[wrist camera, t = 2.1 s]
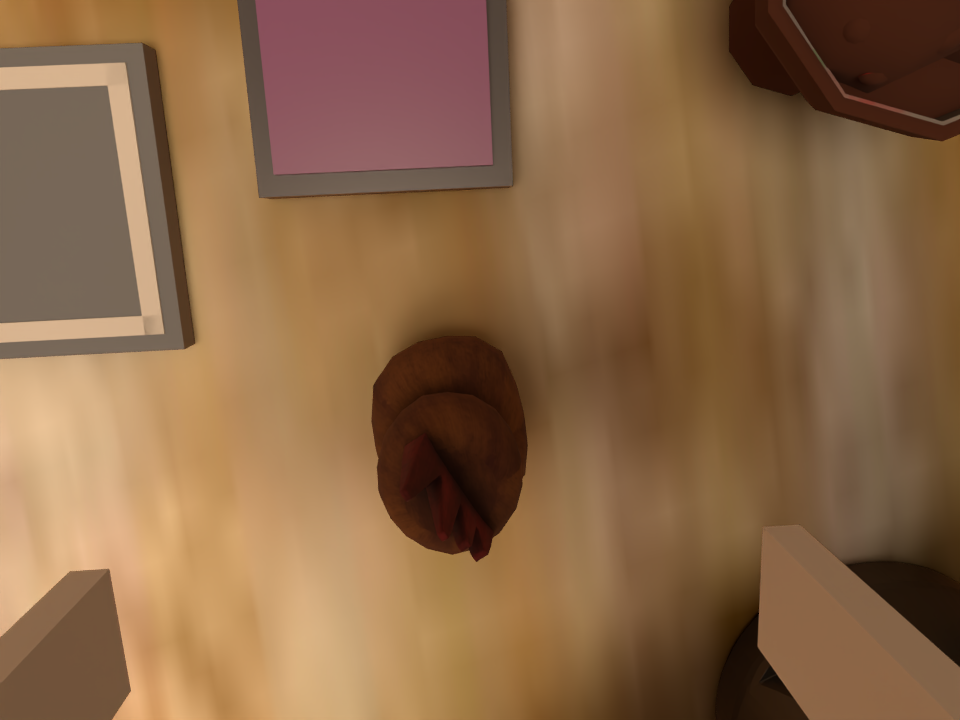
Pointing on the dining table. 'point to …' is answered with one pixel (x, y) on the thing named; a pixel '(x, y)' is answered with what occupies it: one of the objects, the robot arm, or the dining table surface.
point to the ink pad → (377, 95)
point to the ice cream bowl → (857, 58)
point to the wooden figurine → (449, 443)
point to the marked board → (87, 205)
